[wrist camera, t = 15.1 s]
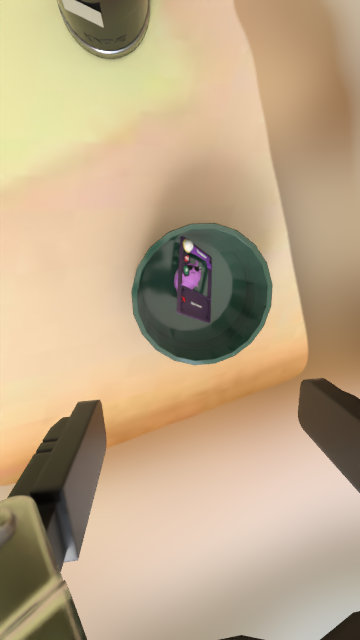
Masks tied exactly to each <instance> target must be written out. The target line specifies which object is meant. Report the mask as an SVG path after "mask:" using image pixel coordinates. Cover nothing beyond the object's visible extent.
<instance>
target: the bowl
mask: <svg viewBox="0 0 360 640" xmlns="http://www.w3.org/2000/svg"><path fill="white" fill-rule="evenodd" d="M182 236H184V237H186V238H187V239H188V240H190V241H191V242H192V243H194V244H195V245H196V246H198V247H199V248H200V249H201V250H203V251H204V252H205V253H207V254H208V255H209V256H211V257H212V285H211V322H210V323H206V322H203V321H200V320H197V319H194V318H191V317H187V316H184V315H181V314H178V313H177V312H176V309H177V290H176V288H175V286H174V276H175V273H176V271H177V269H178V268H179V247H180V237H182ZM185 252H186V251H185V250H184V249H183V253H185ZM188 255H189V257H190V263H191V264H195V262H196V260H197V263H198V265H197V267H199V268H200V267H201V268H200V271H201V278H200V280H199V282H198V287H197V286H195V287H194V288H193V290H194V291H196V292H198V293H200V294H202V295H204V296H206V297H207V289H208V267H207V262H206V261H204V260H203V259H201V258H200V257H198V256H197V255H195V254H192V253H188ZM183 264H185V263H184V262H183ZM271 299H272V281H271V277H270V273H269V269H268V265H267V262H266V261H265V259H264V258H263V256H262V255H261V253H260V251H259V250H258V248H257V247H256V245H255V244H254V243H252V242H251V241H250V240H249V239H247V238H246V237H245V236H244V235H242V234H241V233H240V232H239V231H237V230H234V229H231V228H228V227H225V226H222V225H219V224H216V223H198V224H189V225H186V226H184V227H181V228H178V229H176V230H173V231H170V232H168V233H167V234H166V235H165V236H163V237H162V238H161V239H160V240H159V241H157V242H156V243H155V244H154V245H152V246H151V247H150V248H149V250H148V251H147V253H146V255H145V256H144V258H143V259H142V261H141V263H140V264H139V266H138V267H137V270H136V274H135V279H134V283H133V287H132V303H133V314H134V317H135V319H136V321H137V324H138V326H139V328H140V331H141V333H142V335H143V336H144V337H145V338H146V339H147V340H148V341H149V342H150V344H151V345H152V346H153V347H154V348H155V349H156V350H157V351H159V352H160V353H162V354H164V355H165V356H167V357H169V358H171V359H172V360H174V361H178V362H183V363H187V364H192V365H201V364H214V363H217V362H220V361H223V360H225V359H228V358H230V357H233V356H235V355H236V354H238V353H239V352H240V351H241V350H243V349H244V348H245V347H247V346H248V345H249V344H251V343H252V341H253V340H254V339H255V337H256V336H257V335H258V333H259V332H260V331H261V329H262V328H263V326H264V324H265V321H266V318H267V316H268V313H269V310H270V308H271Z"/></svg>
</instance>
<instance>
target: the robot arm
mask: <svg viewBox="0 0 360 640" xmlns="http://www.w3.org/2000/svg"><path fill="white" fill-rule="evenodd" d="M57 2H58V6H59V9H60V12H61V15H62V17H63V20H64V22H65V24H66V26H67V28H68V30H69V32H70V33H71V35H72V36H73V37H74V39H75V40H76V41H77V42H78V43H79V44H80V45H81V46H82V47H83V48H84V49H86V50H87V51H89V52H90V53H92V54H94V55H96V56H99V57H103V58H109V59H111V58H119V57H123V56H125V55H127V54H129V53H130V52H132V51H133V50H134V49H135V48H136V47H137V46H138V45H139V44H140V42H141V41H142V39H143V37H144V35H145V33H146V30H147V26H148V22H149V12H150V11H149V0H57ZM298 418H299V422H300V424H301V426H302V428H303V430H304V431H305V432H306V433H307V434H308V435H309V436H310V438H311V439H312V440H313V441H314V442H315V443H316V444H317V445H318V447H319V448H320V449H321V450H322V451H323V452H324V453H325V454H326V456H327V457H328V458H329V459H330V460H331V461H332V462H333V463H334V465H336V467H337V468H338V469H339V470H340V471H341V472H342V474H343V475H344V476H345V477H346V478H347V479H348V480H349V481H350V483H351V484H352V485H353V486H354V487H355V488H356V489H357V490H358V492H359V493H360V399H359V398H357V397H356V396H354V395H351V394H349V393H347V392H344V391H342V390H341V389H339V388H338V387H336V386H335V385H333V384H332V383H330V382H329V381H327V380H326V379H324V378H318V379H308V380H303V381H302V382H301V387H300V398H299V407H298ZM105 451H106V431H105V424H104V417H103V410H102V404H101V401H100V400H92V401H82V402H78V403H77V405H76V407H75V409H74V410H73V412H72V414H71V416H70V417H64V418H62V419H61V420H59V421H58V422H57V423H56V424H55V425H54V426H53V427H51V428H50V430H49V431H48V433H47V435H46V436H45V438H44V439H43V443H41V444H40V446H39V448H38V449H37V451H36V454H34V456H33V457H32V459H31V460H30V462H29V464H28V465H27V467H26V469H25V470H24V472H23V473H22V475H21V477H20V478H19V480H18V481H17V483H16V485H15V486H14V488H13V490H12V491H11V493H10V494H9V496H8V498H7V499H5V500H2V501H0V640H87V638H86V635H85V633H84V630H83V627H82V624H81V621H80V618H79V616H78V613H77V610H76V608H75V605H74V602H73V599H72V596H71V594H70V591H69V588H68V586H67V584H66V582H65V580H64V581H63V579H62V576H61V573H60V572H61V569H62V566H63V562H69V561H76V560H78V558H79V554H80V550H81V546H82V542H83V538H84V534H85V530H86V526H87V523H88V519H89V515H90V511H91V506H92V502H93V499H94V495H95V491H96V487H97V483H98V479H99V475H100V471H101V467H102V464H103V460H104V456H105ZM220 640H263V639H258V638H253V637H248V636H243V635H240V636H235V637H230V638H225V639H220ZM320 640H360V611H359V612H354V613H352V614H351V615H350V616H349V617H348V618H346V619H345V620H344V621H343V622H341V623H340V624H339V625H338V626H336V627H335V628H334V629H333V630H332V631H330V632H329V633H328V634H327V635H325V636H324V637H323V638H322V639H320Z"/></svg>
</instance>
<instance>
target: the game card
mask: <svg viewBox="0 0 360 640" xmlns="http://www.w3.org/2000/svg"><path fill="white" fill-rule="evenodd" d="M183 249H184V250H185V251H186V252H185V253H183ZM188 253H192V254H195V255H197V256H198V257H200V258H201V259H203V260H204V261H206V262H207V267H208V289H207V297H206V296H204V295H202V294H200V293H198V292H196V291H194V290H193V288H194V287H195V286H197V287H198V282H199V280H200V278H201V271H200V268H201V267H200V268H199V267H197V265H198V263H197V260H196V262H195V264H191V263H190V257H189V255H188ZM183 262H184V263H185V264H183ZM211 285H212V257H211V256H209V255H208V254H207V253H205V252H204V251H203V250H201V249H200V248H199V247H198V246H196V245H195V244H194V243H192V242H191V241H190V240H188V239H187V238H186V237H184V236H182V237H180V247H179V268H178V269H177V271H176V273H175V276H174V286H175V288H176V290H177V309H176V312H177V313H178V314H181V315H184V316H187V317H191V318H194V319H197V320H200V321H203V322H206V323H210V322H211Z"/></svg>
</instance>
